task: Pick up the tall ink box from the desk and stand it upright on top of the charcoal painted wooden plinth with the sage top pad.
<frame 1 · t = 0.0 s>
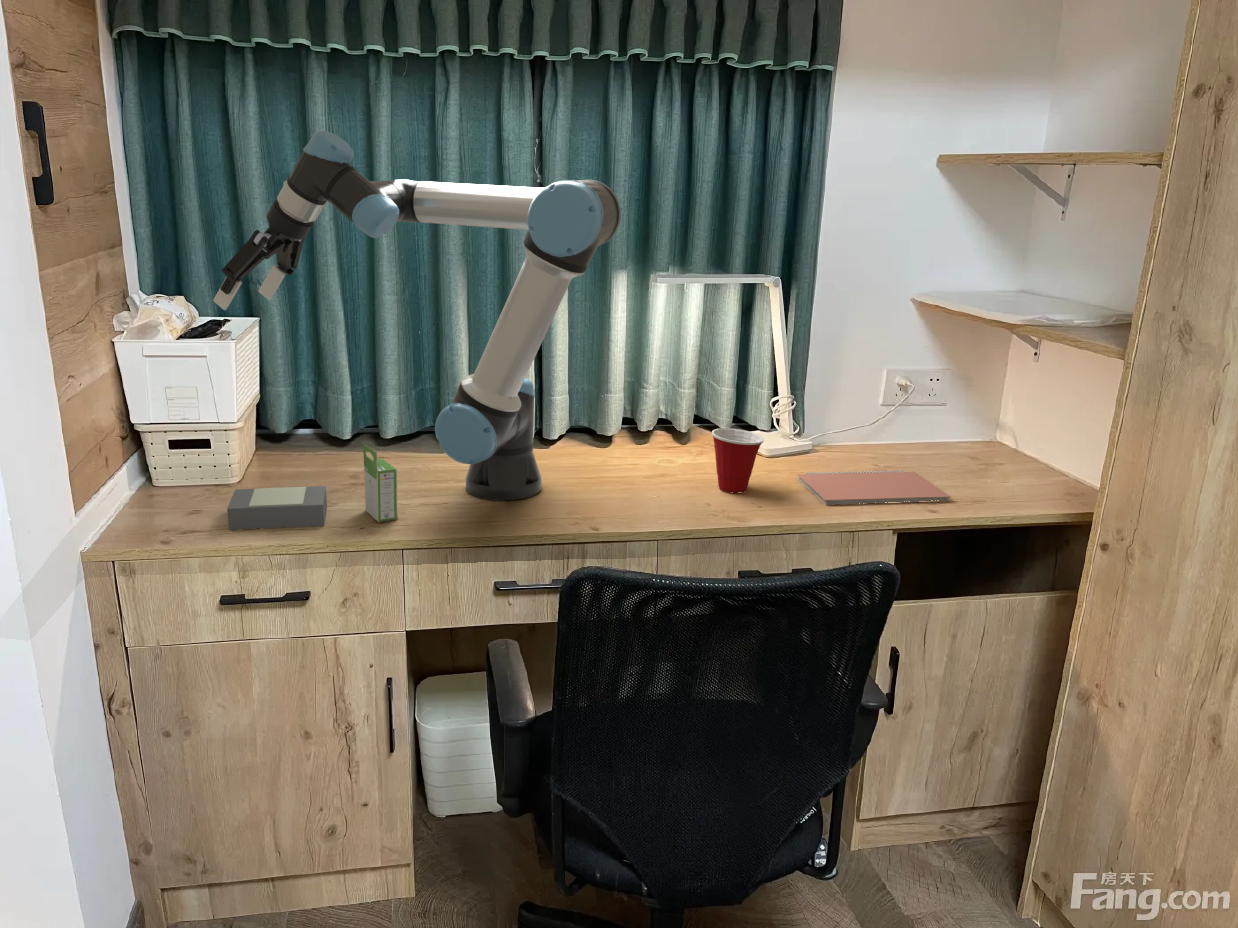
hand: (242, 300, 184), 36 cm above the table, tool tilted 35°, fingers open, 13 cm apart
plastic cup: (733, 489, 201), on the table
notebook: (869, 492, 205), on the table
ink box: (381, 516, 180), on the table
plinth: (279, 517, 176), on the table
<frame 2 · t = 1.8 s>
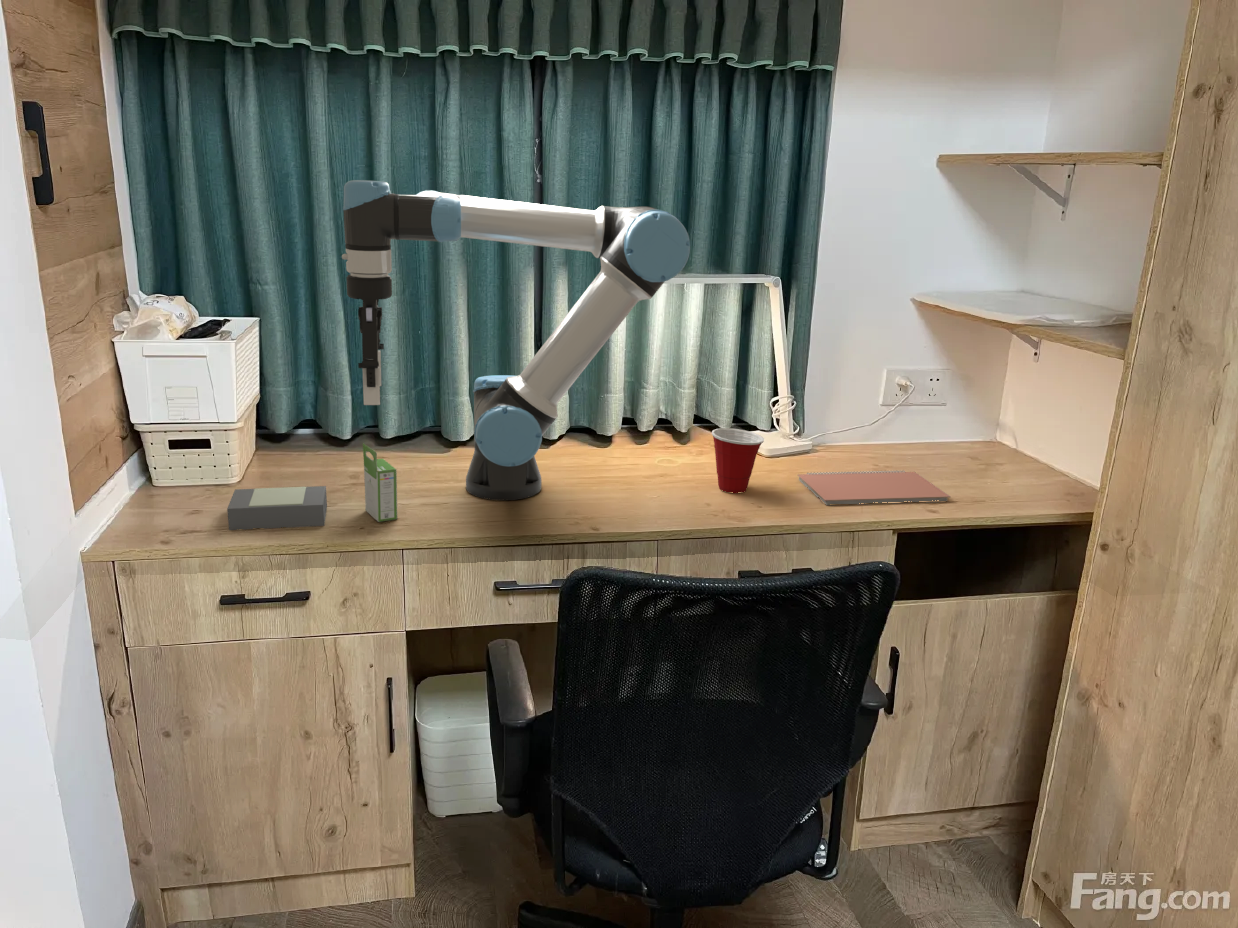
hand: (373, 395, 173), 23 cm above the table, tool pointing down, fingers open, 13 cm apart
nothing on the table moved.
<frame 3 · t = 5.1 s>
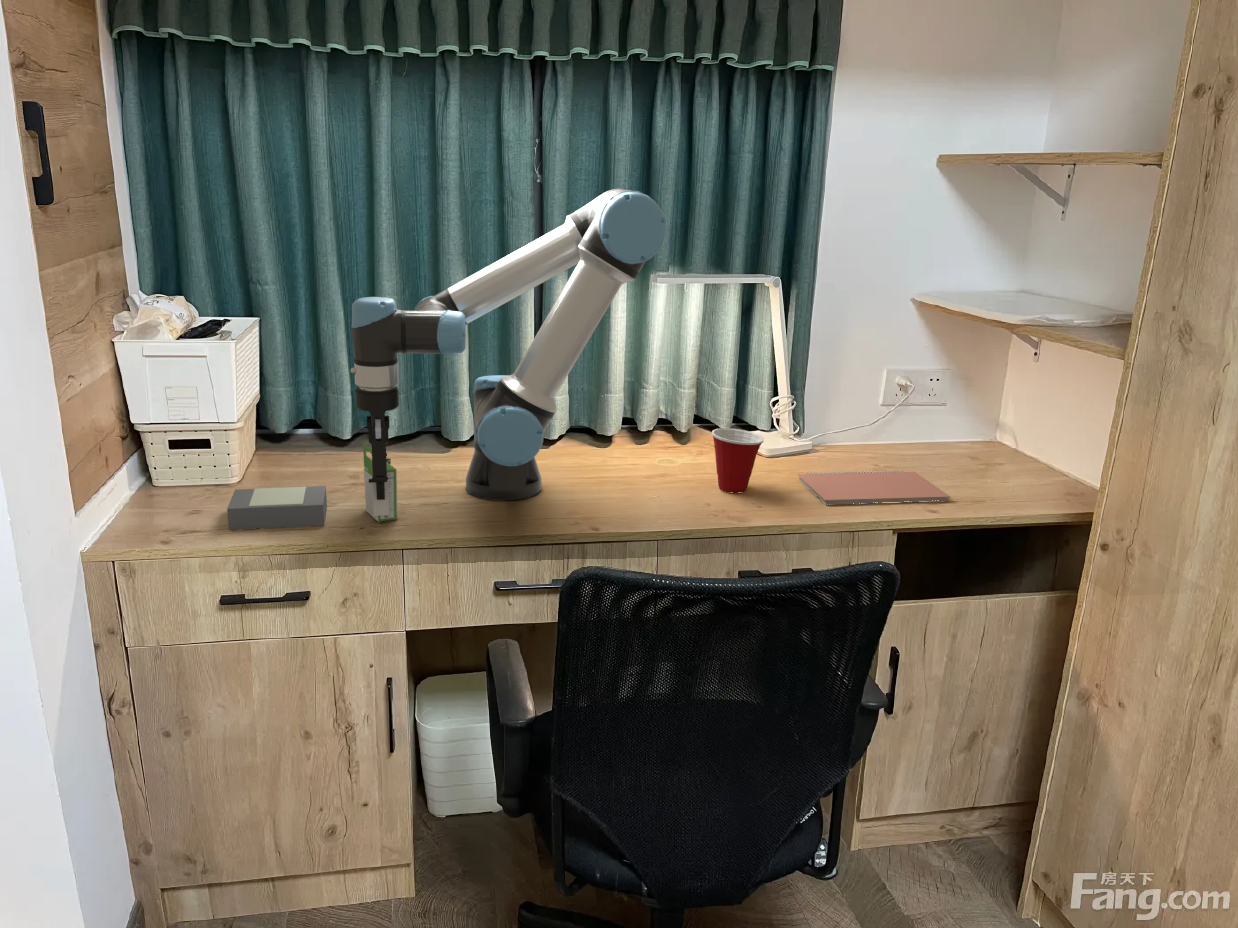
hand: (381, 506, 179), 2 cm above the table, tool pointing down, fingers closed on ink box, 8 cm apart
ink box: (381, 516, 180), on the table, touching gripper
everything else where it was.
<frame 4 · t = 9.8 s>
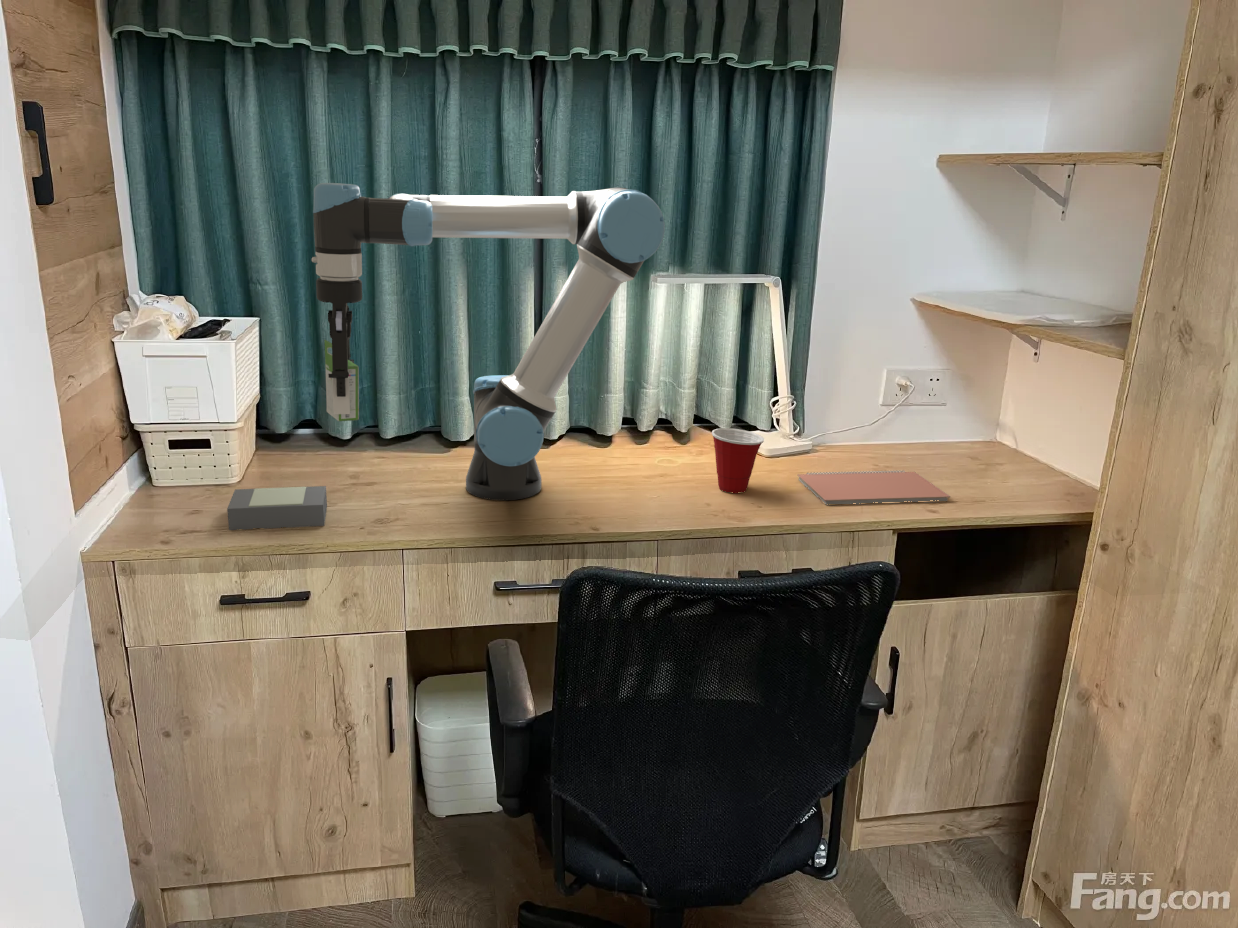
hand: (342, 407, 172), 21 cm above the table, tool pointing down, fingers closed on ink box, 8 cm apart
ink box: (343, 417, 173), point 19 cm above the table, touching gripper
everything else where it was.
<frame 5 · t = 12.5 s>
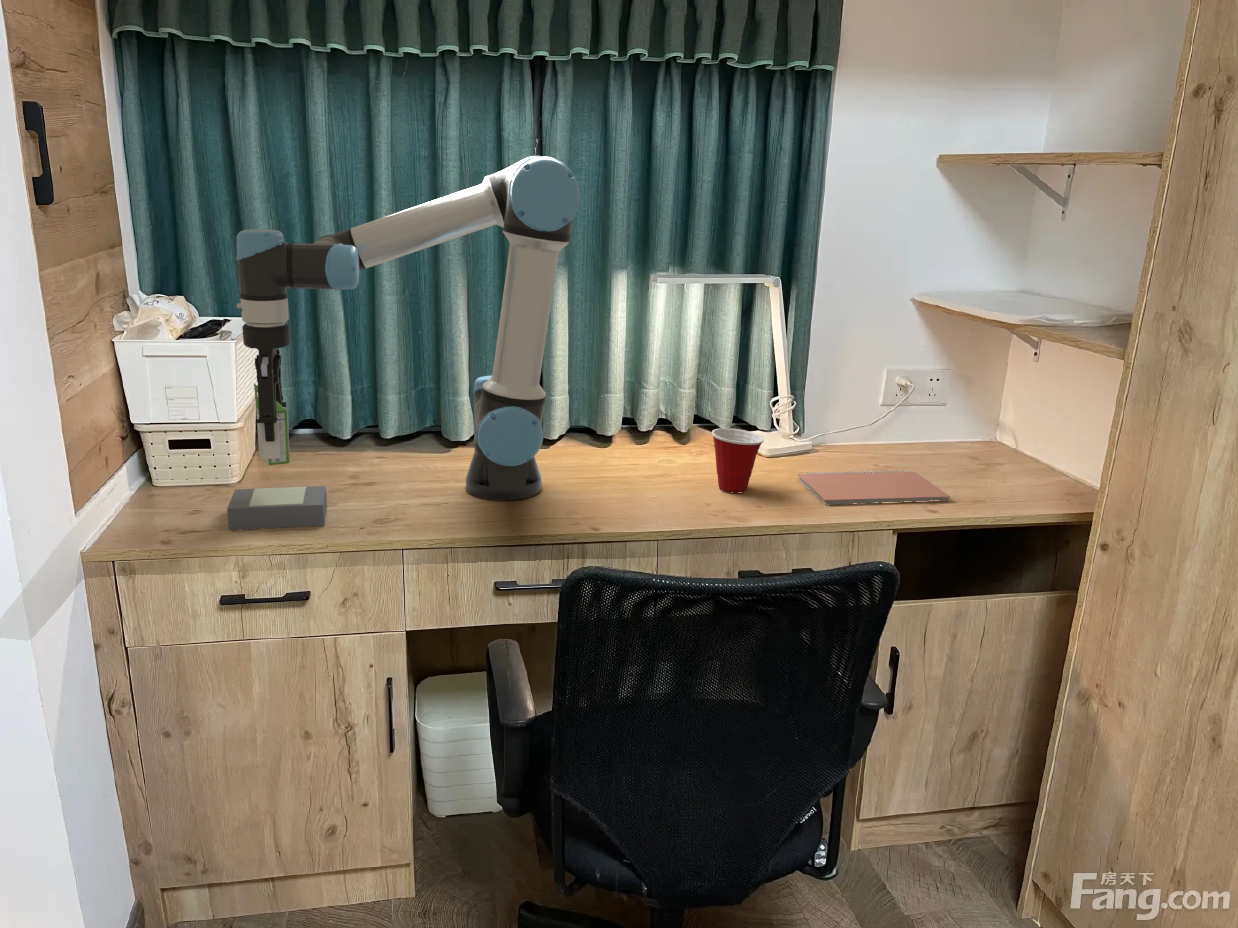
hand: (274, 450, 172), 13 cm above the table, tool pointing down, fingers closed on ink box, 8 cm apart
ink box: (274, 460, 173), point 11 cm above the table, touching gripper
everything else where it was.
when the fingers open (7 cm above the table, at t = 14.6 s): ink box drops 1 cm, resting on plinth.
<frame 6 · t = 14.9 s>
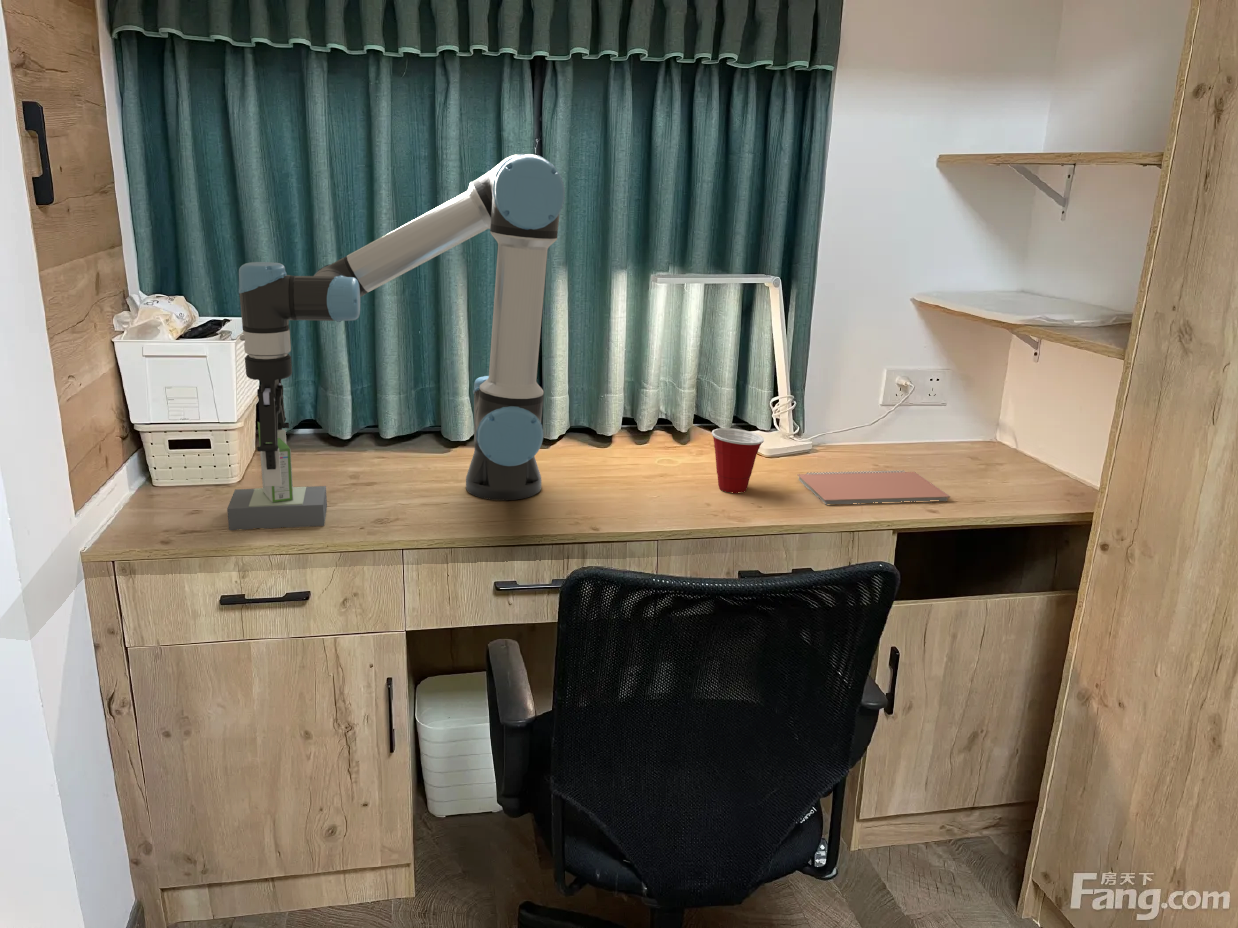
hand: (276, 474, 174), 8 cm above the table, tool pointing down, fingers open, 11 cm apart
ink box: (278, 497, 175), point 4 cm above the table, touching plinth
everything else where it was.
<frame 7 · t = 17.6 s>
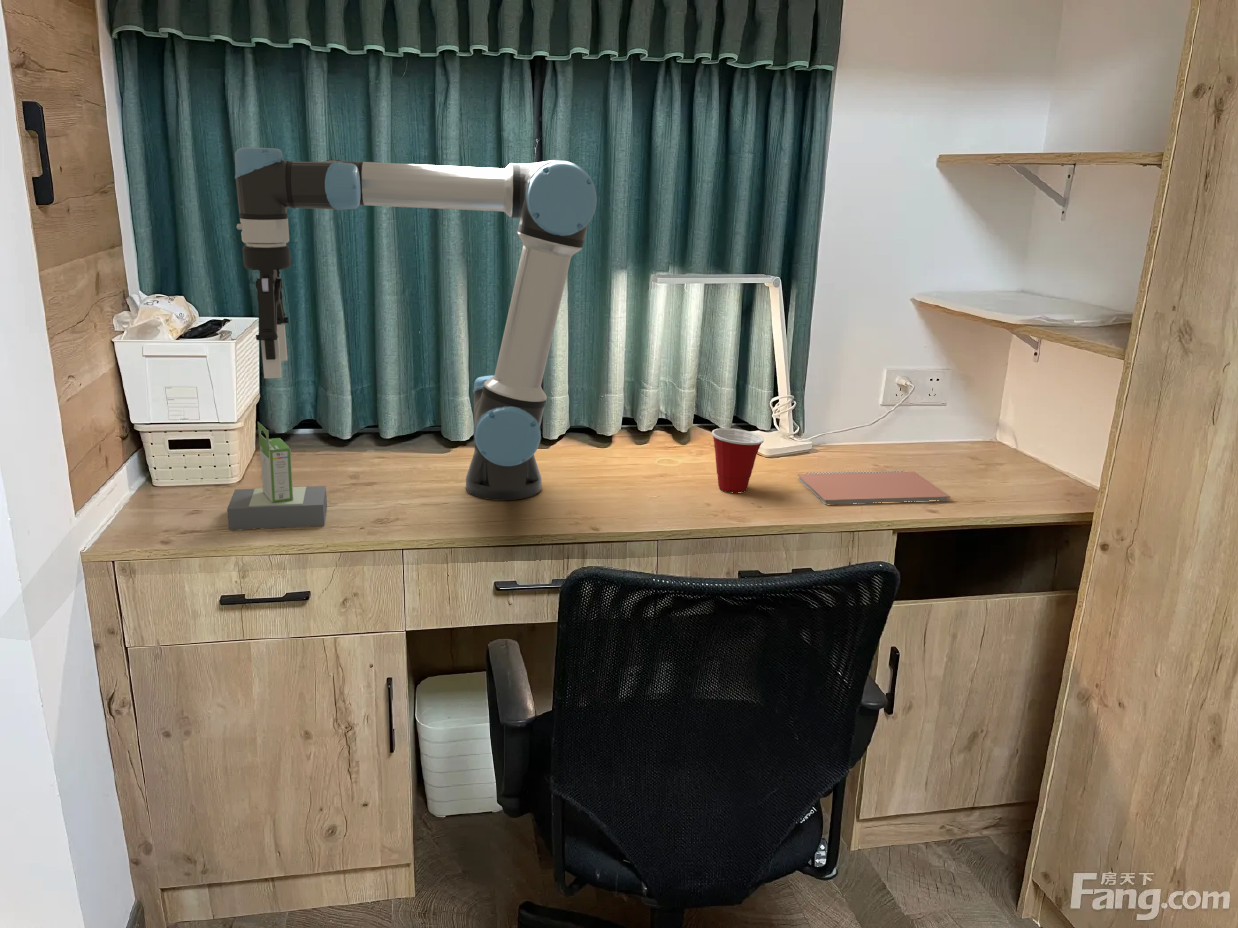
hand: (276, 369, 169), 27 cm above the table, tool pointing down, fingers open, 13 cm apart
nothing on the table moved.
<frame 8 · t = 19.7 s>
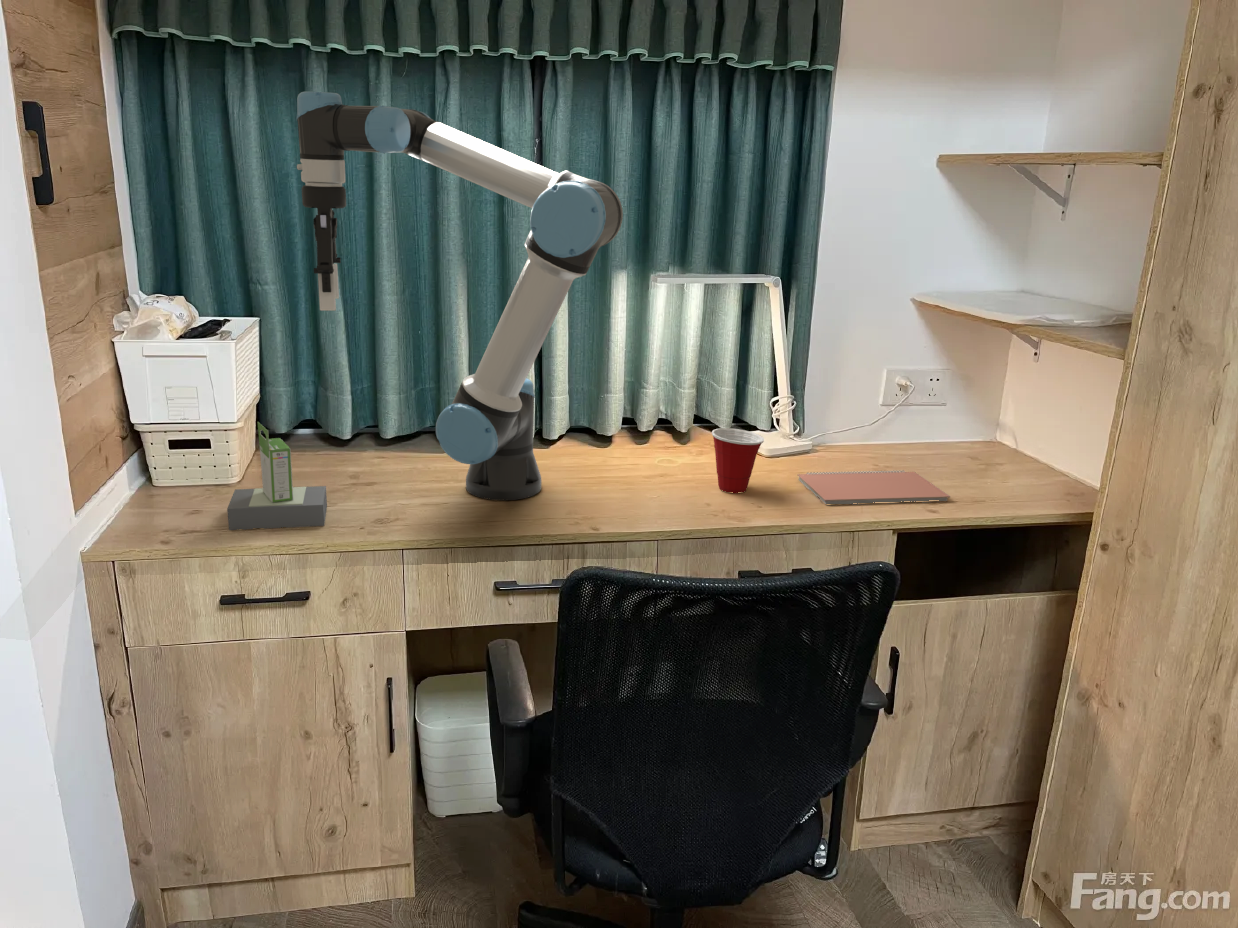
hand: (329, 304, 179), 37 cm above the table, tool pointing down, fingers open, 13 cm apart
nothing on the table moved.
at the end: ink box inside the target area on the plinth (0.0 cm from its centre), point 4.0 cm above the plinth's base; ink box tilted 0°; the gripper is holding nothing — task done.
